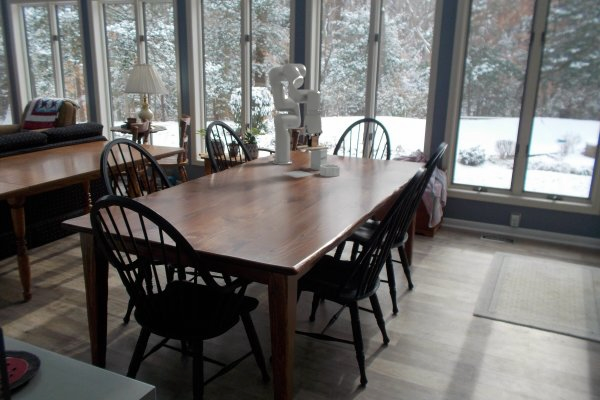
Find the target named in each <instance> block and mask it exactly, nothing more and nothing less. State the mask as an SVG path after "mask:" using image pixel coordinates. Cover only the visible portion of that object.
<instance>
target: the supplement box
mask: <svg viewBox="0 0 600 400" xmlns="http://www.w3.org/2000/svg"><path fill="white" fill-rule="evenodd" d="M323 164H328V149H324V150H316V151H310V170H315V171H320V165H323Z"/></svg>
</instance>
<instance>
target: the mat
mask: <svg viewBox="0 0 600 400" xmlns="http://www.w3.org/2000/svg"><path fill="white" fill-rule="evenodd" d="M280 174H281V175H285V176H288V177H292V178H294V179H295V178H296V179H298V178H304V177H310V176H315V173H310V172H307V171H303V170H295V171H287V172H282V173H280Z"/></svg>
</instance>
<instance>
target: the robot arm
mask: <svg viewBox="0 0 600 400" xmlns="http://www.w3.org/2000/svg"><path fill="white" fill-rule="evenodd" d="M306 75H307V69H306V66H305V65H304V64H303V63H286V64H284V65H283V66H277V67H273V68H271V69H270V70H269V73H268V80H269V85H270V87H271V89H272V97H273V104H274V105H273V106H274V109H275V111H277V112H283V113H278V114H276V115H275V116H274V118H273V125H274V135H275V137H274V144H275V145H274V146H275V147H274V150H275V151H274V155H273V156H272V158H273V159H274V160H273V161H272V164H274V165H278V166H279V165H281V166H283V165H284V166H285V165H291V164H293V160H291V135H290V132H289V131H288V130H289V129H298V128H299V127H301V123H302V118H301V111H300V110H301V108H300V104H306V115H305V116H304V121H303V132H302V135H303V136H305V138H306V139H307V140H306V143H307V144H306V145H308V146H312V139H311V136H318V139H319V138H320V136H322V134H323V130H322V116H321V113H322V110H321V92H320V91H319V90H314V89H299V88H300V87H302V86H303V84H304V83H305V82H304V81H305V80H304V78H306ZM282 82H288V95H287V89H286V87H285V85H284V84H283V83H282ZM284 112H288V113H284ZM289 112H290V113H289ZM317 145H319V143H318V144H317Z"/></svg>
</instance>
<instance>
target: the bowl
mask: <svg viewBox="0 0 600 400" xmlns="http://www.w3.org/2000/svg"><path fill="white" fill-rule="evenodd" d="M340 166H341V165H339V164H335V163H327V164H323V165H320V170H319V175H320V176H322V177H331V178H332V177H339V176H340V172H341V171H340V169H341V167H340Z"/></svg>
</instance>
